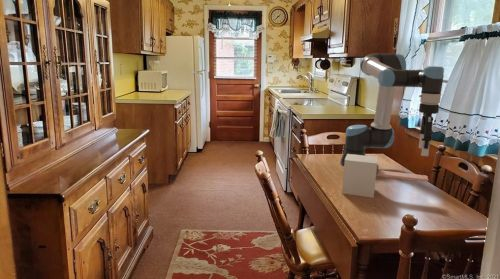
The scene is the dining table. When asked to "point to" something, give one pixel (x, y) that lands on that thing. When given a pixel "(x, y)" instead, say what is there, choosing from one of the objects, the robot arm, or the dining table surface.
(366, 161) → the block
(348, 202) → the dining table surface
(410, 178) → the ticket strip
